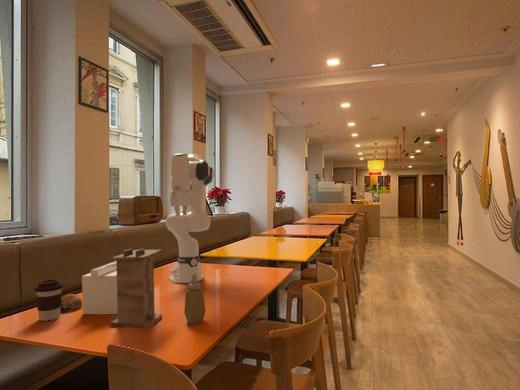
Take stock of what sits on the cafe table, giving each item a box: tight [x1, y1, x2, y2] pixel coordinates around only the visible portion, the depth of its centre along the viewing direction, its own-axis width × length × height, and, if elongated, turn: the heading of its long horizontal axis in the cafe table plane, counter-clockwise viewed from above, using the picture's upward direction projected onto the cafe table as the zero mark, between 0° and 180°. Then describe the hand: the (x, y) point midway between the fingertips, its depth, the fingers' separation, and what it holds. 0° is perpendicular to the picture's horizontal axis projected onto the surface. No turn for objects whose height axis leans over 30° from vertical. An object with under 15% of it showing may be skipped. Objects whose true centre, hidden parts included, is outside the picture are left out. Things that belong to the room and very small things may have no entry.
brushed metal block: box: [90, 260, 117, 277], centre depth 153 cm, size 26×3×3 cm, turn 174°
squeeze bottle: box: [183, 274, 207, 325], centre depth 132 cm, size 8×8×18 cm
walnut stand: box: [109, 248, 163, 328], centre depth 136 cm, size 18×16×28 cm
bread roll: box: [60, 293, 83, 313], centre depth 153 cm, size 10×10×8 cm
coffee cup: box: [33, 279, 64, 322], centre depth 140 cm, size 10×10×15 cm
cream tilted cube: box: [81, 270, 118, 315], centre depth 152 cm, size 18×14×16 cm
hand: (181, 215), depth 166 cm, fingers open, 8 cm apart
